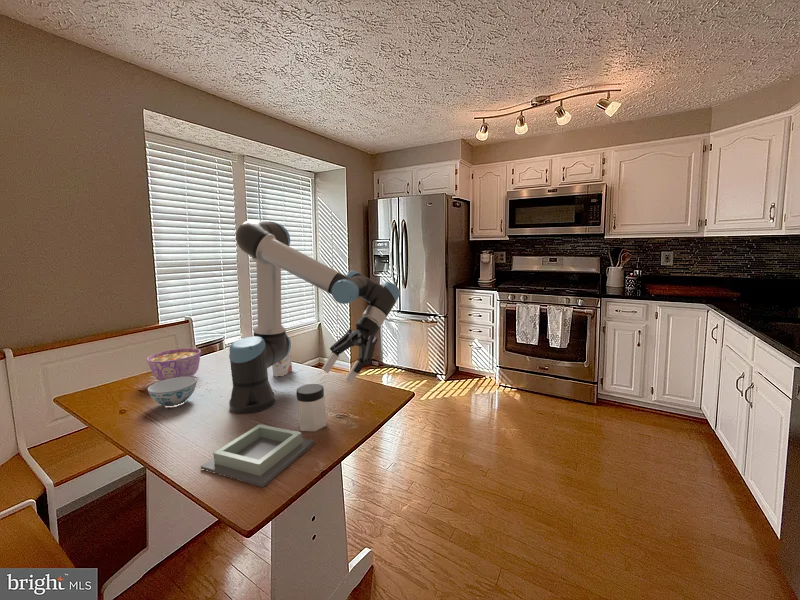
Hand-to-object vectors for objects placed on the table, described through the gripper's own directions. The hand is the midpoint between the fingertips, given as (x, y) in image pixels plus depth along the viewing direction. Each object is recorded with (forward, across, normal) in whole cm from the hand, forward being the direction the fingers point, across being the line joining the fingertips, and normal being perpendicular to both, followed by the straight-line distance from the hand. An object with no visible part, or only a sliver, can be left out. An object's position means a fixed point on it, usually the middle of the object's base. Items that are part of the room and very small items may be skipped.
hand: (336, 376), depth 118 cm
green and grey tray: (+29, -4, +10) cm, 31 cm away
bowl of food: (+30, +81, +11) cm, 87 cm away
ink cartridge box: (+6, +54, -14) cm, 56 cm away
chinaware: (+35, +52, +16) cm, 65 cm away
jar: (+16, +1, -3) cm, 17 cm away
